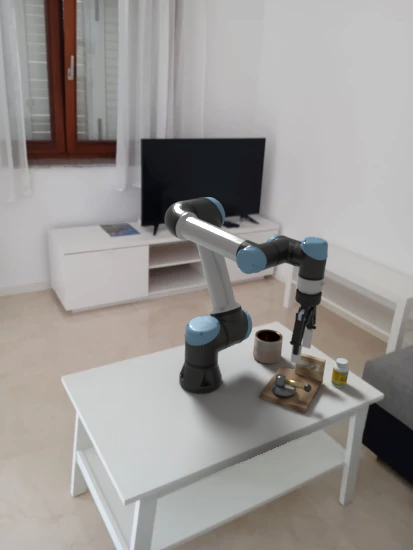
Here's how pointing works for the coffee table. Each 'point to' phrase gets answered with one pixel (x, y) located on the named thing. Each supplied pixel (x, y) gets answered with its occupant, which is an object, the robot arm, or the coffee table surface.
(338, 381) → the supplement bottle
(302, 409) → the stand
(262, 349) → the planter
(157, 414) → the coffee table surface
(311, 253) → the robot arm
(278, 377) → the ball knob lever
